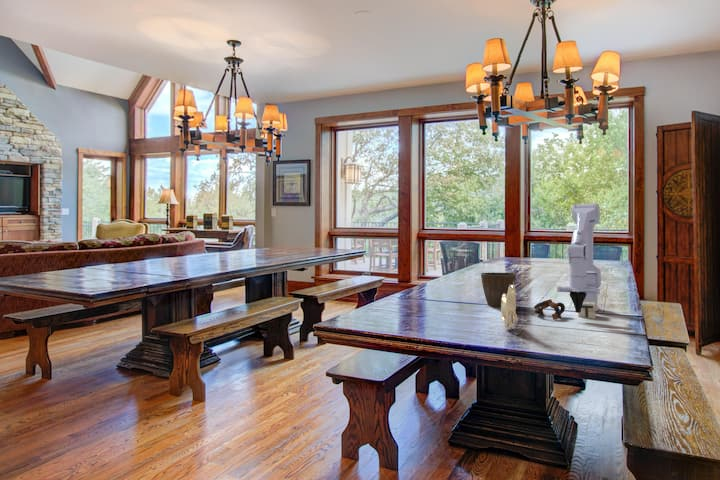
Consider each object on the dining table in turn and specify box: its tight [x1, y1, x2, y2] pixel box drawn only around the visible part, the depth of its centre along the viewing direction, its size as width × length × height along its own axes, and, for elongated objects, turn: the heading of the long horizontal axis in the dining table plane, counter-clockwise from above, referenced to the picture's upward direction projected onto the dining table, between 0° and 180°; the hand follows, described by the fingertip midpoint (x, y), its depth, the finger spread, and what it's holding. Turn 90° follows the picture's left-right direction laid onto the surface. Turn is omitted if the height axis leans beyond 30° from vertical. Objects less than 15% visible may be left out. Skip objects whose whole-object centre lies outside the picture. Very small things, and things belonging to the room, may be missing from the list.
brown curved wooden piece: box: [533, 299, 566, 321], centre depth 191 cm, size 12×9×8 cm
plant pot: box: [480, 272, 517, 309], centre depth 213 cm, size 15×15×16 cm
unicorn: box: [500, 281, 518, 329], centre depth 172 cm, size 20×4×17 cm, turn 174°
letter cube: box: [577, 302, 596, 319], centre depth 192 cm, size 6×6×6 cm
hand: (578, 312), depth 184 cm, fingers closed
